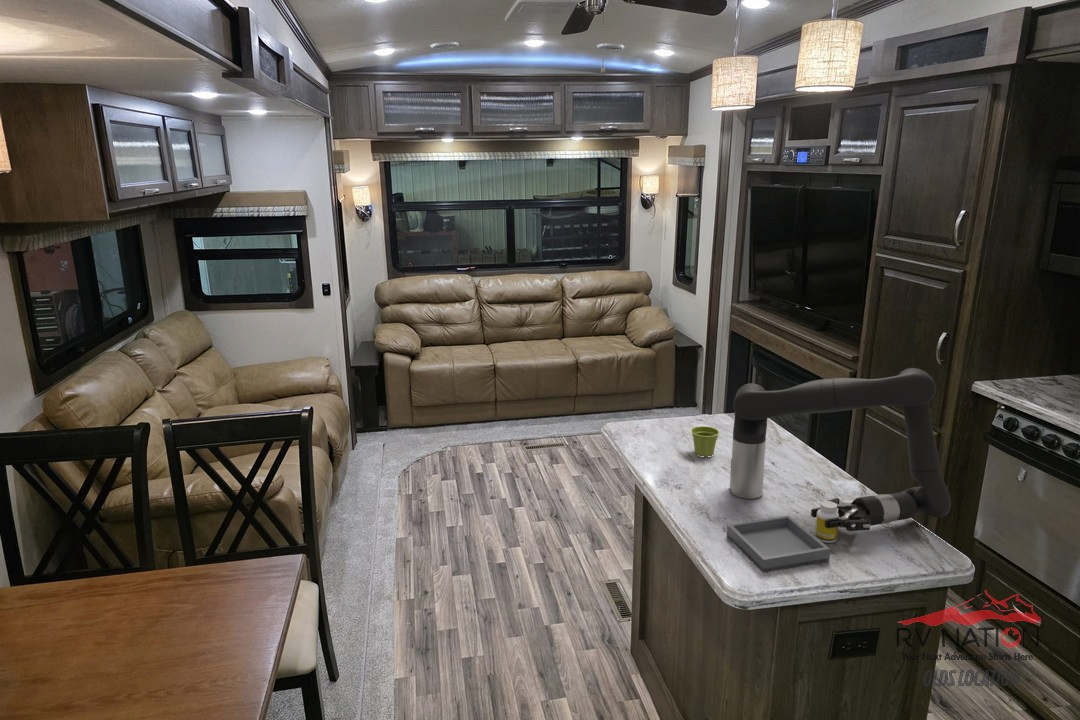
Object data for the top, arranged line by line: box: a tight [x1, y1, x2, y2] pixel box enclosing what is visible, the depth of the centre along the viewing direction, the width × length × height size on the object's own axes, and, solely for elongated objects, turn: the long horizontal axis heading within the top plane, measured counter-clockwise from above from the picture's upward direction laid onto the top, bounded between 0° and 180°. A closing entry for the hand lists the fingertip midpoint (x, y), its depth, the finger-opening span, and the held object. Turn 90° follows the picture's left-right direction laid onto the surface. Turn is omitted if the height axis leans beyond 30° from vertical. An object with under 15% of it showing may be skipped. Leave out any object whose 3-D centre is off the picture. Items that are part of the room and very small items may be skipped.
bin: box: [726, 514, 831, 573], centre depth 177 cm, size 18×18×4 cm
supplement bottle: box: [814, 500, 840, 544], centre depth 180 cm, size 5×5×10 cm
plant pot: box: [690, 425, 720, 458], centre depth 236 cm, size 9×9×9 cm
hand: (818, 518), depth 180 cm, fingers closed on supplement bottle, 5 cm apart
